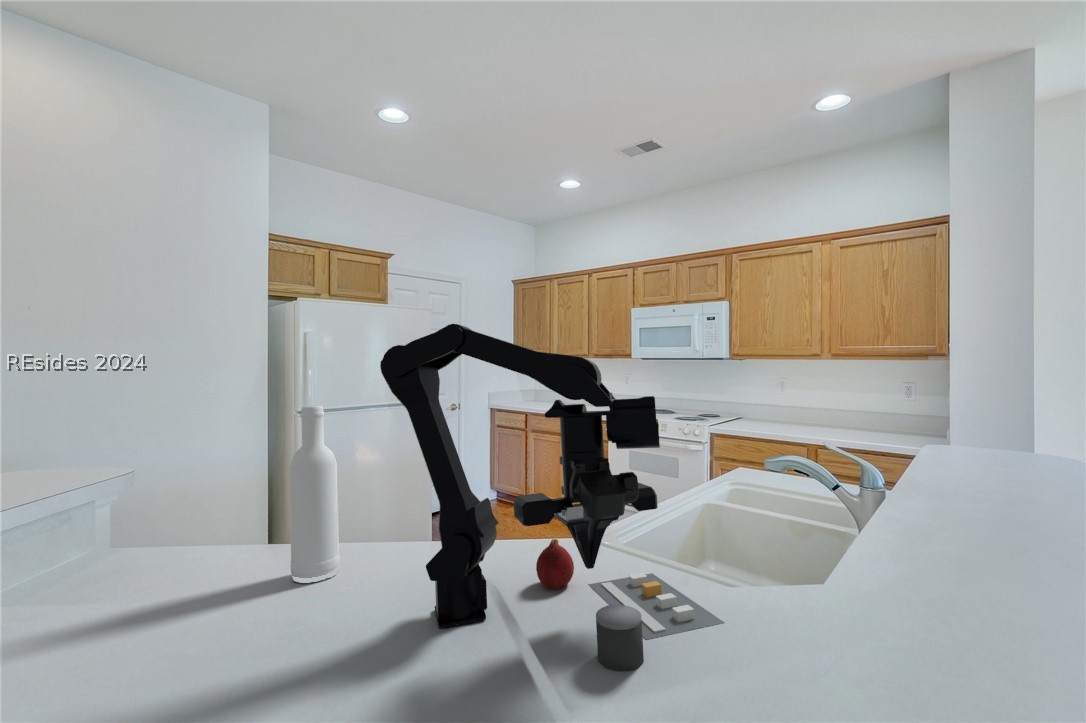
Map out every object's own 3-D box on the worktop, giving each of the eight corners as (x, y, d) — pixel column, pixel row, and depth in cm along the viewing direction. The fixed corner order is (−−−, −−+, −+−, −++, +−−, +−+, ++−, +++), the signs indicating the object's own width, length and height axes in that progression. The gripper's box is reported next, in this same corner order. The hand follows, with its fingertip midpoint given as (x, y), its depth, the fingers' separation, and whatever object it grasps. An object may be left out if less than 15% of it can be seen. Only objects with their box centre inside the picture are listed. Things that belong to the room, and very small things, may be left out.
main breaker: (646, 597, 70) (646, 587, 70) (642, 593, 71) (641, 583, 71) (661, 594, 71) (661, 584, 71) (656, 590, 72) (656, 581, 72)
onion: (572, 601, 73) (569, 545, 73) (533, 599, 74) (531, 545, 74) (577, 585, 78) (574, 534, 79) (541, 584, 80) (539, 533, 80)
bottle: (307, 587, 83) (304, 407, 84) (281, 579, 87) (278, 408, 88) (349, 571, 89) (345, 404, 91) (322, 565, 94) (319, 405, 95)
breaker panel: (646, 650, 58) (645, 629, 59) (588, 592, 76) (587, 576, 76) (725, 632, 62) (724, 612, 62) (652, 580, 79) (651, 565, 79)
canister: (609, 687, 52) (606, 629, 52) (591, 662, 56) (589, 609, 57) (652, 677, 53) (649, 621, 53) (631, 653, 58) (628, 602, 58)
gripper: (532, 464, 57) (539, 604, 56) (675, 450, 62) (684, 577, 61) (510, 453, 67) (516, 571, 66) (634, 442, 73) (641, 550, 72)
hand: (589, 567), depth 66 cm, fingers closed
